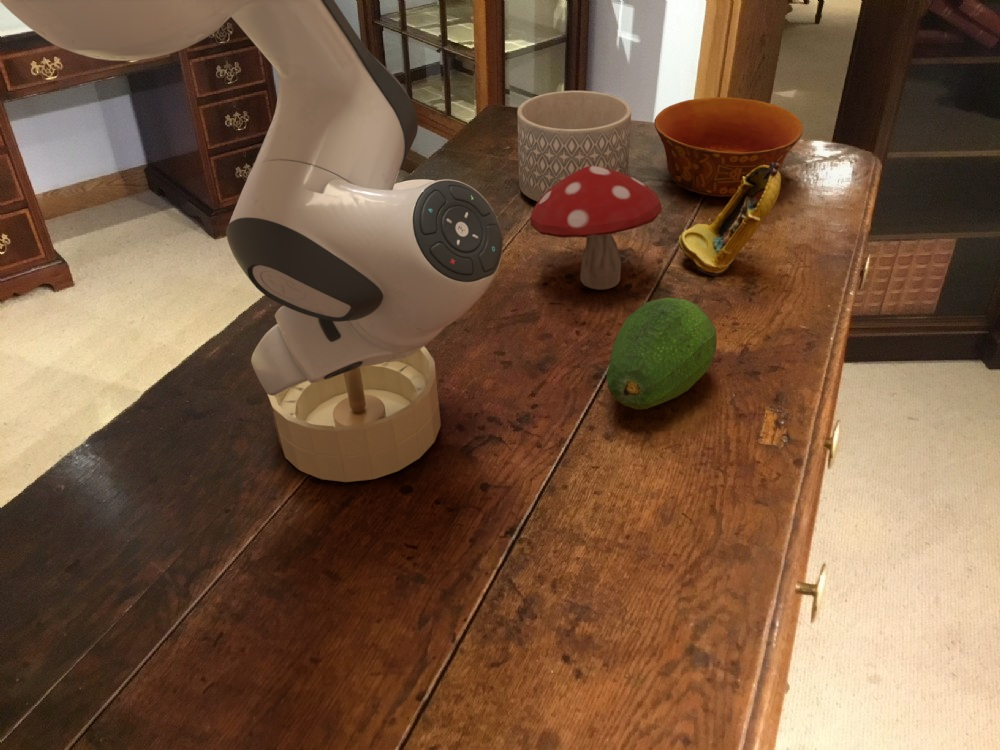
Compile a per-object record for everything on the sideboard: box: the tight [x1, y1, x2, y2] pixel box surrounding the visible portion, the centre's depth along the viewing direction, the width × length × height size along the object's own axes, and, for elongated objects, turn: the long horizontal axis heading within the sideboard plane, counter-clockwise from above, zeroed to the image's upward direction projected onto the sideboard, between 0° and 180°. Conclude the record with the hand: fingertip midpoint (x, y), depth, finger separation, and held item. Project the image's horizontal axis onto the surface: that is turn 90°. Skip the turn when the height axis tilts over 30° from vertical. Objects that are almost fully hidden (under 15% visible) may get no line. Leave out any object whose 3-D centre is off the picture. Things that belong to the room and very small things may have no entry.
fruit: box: [606, 297, 717, 410], centre depth 87 cm, size 15×10×10 cm, turn 142°
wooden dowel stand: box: [333, 368, 386, 427], centre depth 82 cm, size 5×5×17 cm
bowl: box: [653, 96, 804, 198], centre depth 128 cm, size 21×21×10 cm
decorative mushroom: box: [530, 166, 663, 291], centre depth 105 cm, size 16×16×15 cm
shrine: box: [678, 162, 782, 277], centre depth 107 cm, size 12×8×15 cm
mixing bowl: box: [266, 346, 442, 483], centre depth 85 cm, size 16×16×7 cm
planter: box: [516, 90, 632, 203], centre depth 127 cm, size 16×16×13 cm
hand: (344, 350), depth 82 cm, fingers open, 5 cm apart
